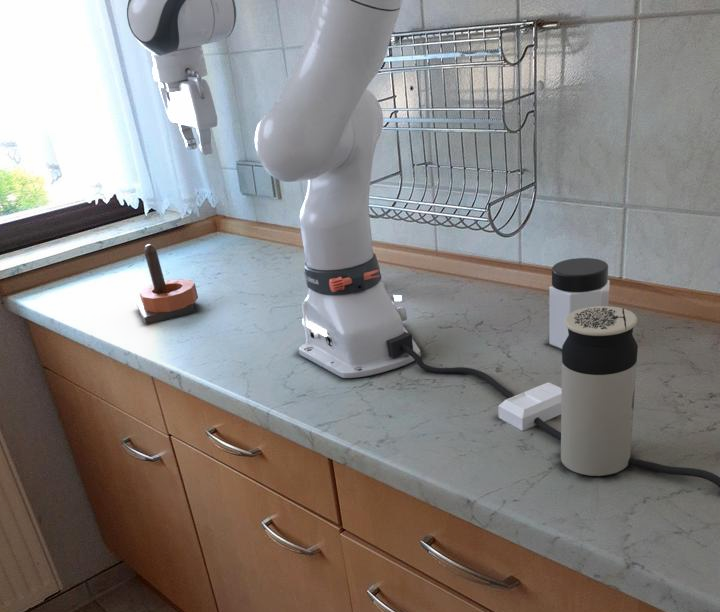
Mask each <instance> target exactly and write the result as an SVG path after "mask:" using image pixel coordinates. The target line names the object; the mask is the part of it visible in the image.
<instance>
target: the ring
mask: <svg viewBox="0 0 720 612" xmlns="http://www.w3.org/2000/svg"><path fill="white" fill-rule="evenodd" d="M164 281H165V284H166V288H167V292H168V293H165V294H155V290H154V287H153V284H151V285H149V286H147V287H145V288H143V289H142V290H141V292H139V296H140V299H141V302H142V304H143V307H144V309H145V310H146V311H148V312H155V313H161V312H170V311H174V310H178V309H182V308H185V307H187V306H189V305H191V304H193V305H194V304H195V303H196V301H197V300H198V299H199V295H198V291H197V286H196V283H195V282H194V281H193V280H192V279H186V278H185V279H183V278H179V279H177V278H176V279H168V280H164Z"/></svg>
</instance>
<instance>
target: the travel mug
mask: <svg viewBox="0 0 720 612" xmlns="http://www.w3.org/2000/svg"><path fill="white" fill-rule="evenodd" d="M637 323H638V317H637V315H636V314H635V313H634V312H633V311H631V310H629V309H626V308H623V307H619V306H612V305H611V306H610V305H609V306H595V307H588V308H583V309H579V310H576V311H574V312H572V313H570V314H569V315H568V316H567V317H566V319H565V325H566V327H567V328H568V334H569V335H568V337H567V339H566V340H565V342H564V344H563V346H562V349H561V388H562V403H561V415H560V416H561V417H560V422H561V423H560V432H561V441H560V461H561V463H562V464H563V466H564V467H566V468H567V469H568V470H570V471H572V472H574V473H576V474H579V475H584V476H590V477H594V476H595V477H601V476H609V475H613V474H616V473H619V472H621V471H623V470H625V469H626V468H627V467H628V466H629V465H628V461H629V458H631V451H632V438H633V423H634V410H635V409H634V407H635V392H636V377H637V376H636V375H637V365H638V351H639V350H638V349H639V346H638V343H637V341H636V339H635V337H634V334H633V331H634V327H635V326H636V325H637Z"/></svg>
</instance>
